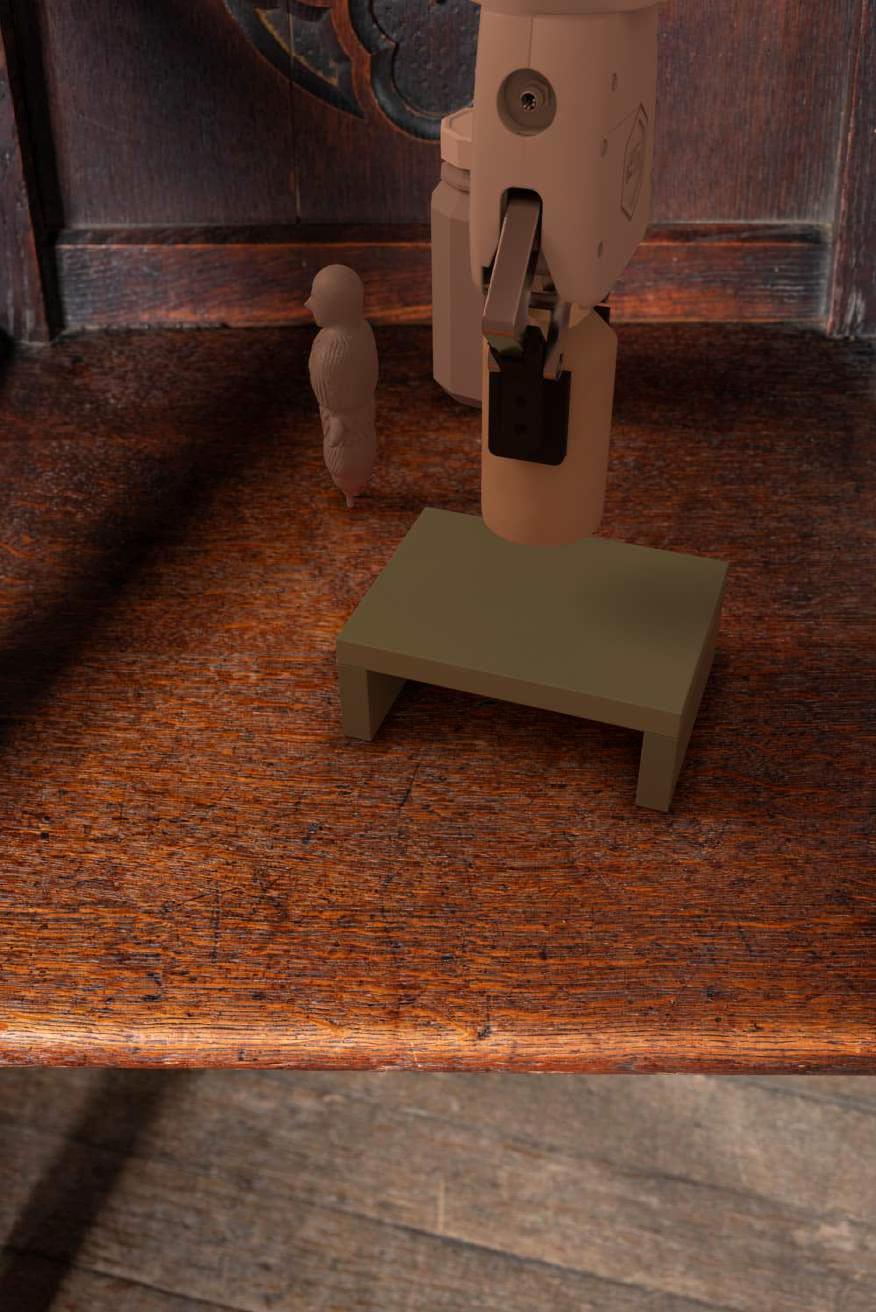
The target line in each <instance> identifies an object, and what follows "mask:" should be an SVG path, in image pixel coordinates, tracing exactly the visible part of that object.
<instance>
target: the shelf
mask: <svg viewBox="0 0 876 1312" xmlns="http://www.w3.org/2000/svg"><path fill="white" fill-rule="evenodd" d="M729 568H730V561H726V560H722V559H721V560H720V559H715V558H711V557H710V558H709V557H704V556H698V555H694V554H693V555H692V554H687V553H682V552H678V551H677V552H676V551H671V550H666V549H661V548H655V547H649V546H643V545H638V544H633V543H627V542H622V541H617V540H612V539H605V538H599V537H595V536H590V535H589V536H588V537H586V538H584V539H582V540H580V541H577V542H574V543H571V544H567V545H562V546H553V547H537V546H528V545H522V544H518V543H515V542H512V541H509V540H506V539H504V538H502V537H500V536H498V535H497V534H495V533H494V532H493V531H492V530H491V529H490V528H489V527H488V526H487V525H486V523H485V521H484V519H483V516H481V515H480V516H478V515H473V514H468V513H463V512H457V511H452V510H447V509H442V508H441V509H440V508H435V507H431V506H430V507H429V506H425V507H424V508H423V509H422V511H421V513H420V514H419V516H418V517H417V519H416V520H415V522H414V523H413V525H412V526H411V527H410V529H409V530H408V532H407V534H406V535H405V536H404V537H403V539H402V541H401V542H400V543H399V545H398V547H397V548H396V550H395V551H394V552H393V554H392V555H391V556H390V558H389V560H388V561H387V563H386V564H385V565H384V567H383V568H382V569H381V571H380V573H379V574H378V576H377V577H376V579H375V580H374V581H373V583H372V584H371V586H370V588H368V591H367V592H366V593H365V594H364V596H363V597H362V599H361V600H360V602H359V604H357V606H356V608H355V609H354V610H353V613H351V615H350V616H349V618H348V620H347V621H346V622H345V624H344V625H343V627H342V628H341V630H340V631H339V633H338V634H337V635H336V637H335V650H336V662H337V664H336V665H337V677H338V678H337V679H338V690H339V702H340V703H339V704H340V715H341V726H342V727H341V728H342V735H343V736H346V737H349V738H353V739H358V740H362V741H367V742H372V740H373V739H374V737H375V735H376V734H377V732H378V731H379V728H380V727H381V725H382V723H383V722H384V719H385V718H386V716H387V715H388V714H389V712H390V710H391V708H392V706H393V705H394V703H395V701H396V700H397V698H398V696H399V695H400V694H401V691H402V689H403V688H404V687H405V684H407V683H406V682H407V681H408V680H410V681H414V682H415V681H416V682H421V683H424V684H429V685H434V686H438V687H443V688H447V689H450V690H455V691H461V692H465V693H470V694H475V695H479V696H483V697H487V698H493V699H496V700H500V701H505V702H509V703H515V704H519V705H523V706H526V707H527V706H528V707H533V708H536V709H542V710H546V711H550V712H555V713H560V714H563V715H569V716H573V717H578V718H582V719H587V720H590V721H596V722H599V723H604V724H609V725H613V726H616V727H617V726H618V727H622V728H627V729H630V730H636V731H640V732H643V738H642V746H641V753H640V754H641V755H640V762H639V771H638V777H637V788H636V795H635V806H638V807H642V808H646V809H651V810H655V811H658V812H663V813H668V812H669V809H670V806H671V803H672V799H673V796H674V793H675V790H676V785H677V782H678V779H679V776H680V772H681V769H682V766H683V764H684V763H683V762H684V759H685V756H686V752H687V750H688V746H689V742H690V739H691V735H692V732H693V729H694V725H695V722H696V720H697V715H698V712H699V710H700V706H701V702H702V700H703V696H704V693H705V690H706V685H707V682H708V679H709V676H710V672H711V670H712V665H713V663H714V659H715V656H716V649H717V643H718V637H719V632H720V625H721V618H722V612H723V607H724V600H725V593H726V587H727V581H728V575H729Z"/></svg>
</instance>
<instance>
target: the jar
mask: <svg viewBox="0 0 876 1312" xmlns="http://www.w3.org/2000/svg"><path fill="white" fill-rule="evenodd" d="M472 122H473V107H467V108H462V109H460V110H457V111H455V112H454V113H451V114H449V115H447V116H445V117H444V118H442V119H441V123H440V158H441V159H442V160H444V162H441V166H440V167H441V168H440V181H439V183H438V184H437V185H436V186H435V188H434V189H433V191H432V193H431V202H430V232H431V233H430V235H431V236H430V237H431V238H430V241H431V244H430V245H431V293H432V294H431V302H432V304H431V305H432V307H431V309H432V311H431V313H432V373H433V377H432V378H433V379H434V380H435V382H436V383H438V385H439V386H440V387H441V388H442V389H443V391H444V392H445V393H447V394H448V395H449V396H450V397H452V398H453V399H454V400H455V401H456V402H457V403H458V404H462V405H466V406H468V407H472V408H476V409H479V410H482V383H483V336H484V335H483V333H482V318H483V313H484V308H485V304H486V299H487V297H486V296H484V295H483V294H482V293H480V291H479V290H478V289H477V288H476V286H475V285H474V283H473V280H472V273H471V261H470V235H469V205H470V167H471V143H472ZM532 290H540V291H543V283H542V276H539V275H535V276H534V280H533V285H532Z"/></svg>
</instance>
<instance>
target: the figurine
mask: <svg viewBox="0 0 876 1312" xmlns="http://www.w3.org/2000/svg"><path fill="white" fill-rule="evenodd" d="M310 295H311V296H309V298H308V299H307V300H306V301H305V302H304V304H303V306H304V307H305V308H306V309H307V310H309V312H311V313H312V315H313V318H314V321H315V324H316V326H318V327H319V328H321V329H320V330H319V332H318V333H317V334H316V336H315V338H314V339H313V340H312V341H313V342H312V345H311V351H310V356H309V359H308V365H307V367H308V369H309V374H310V376H309V378H310V385H311V387H312V390H313V391H314V395H315V397H316V399H317V400H316V401H317V403H318V404H319V407H318V409H319V413H320V420H321V427H322V428H321V429H322V432H323V437H324V438H323V449H322V450H323V451H322V452H323V459H324V462H325V463H324V464H325V466H326V468H327V471H328V472H329V474H330V475H331V478H332V481H333V483H334V485H335V486H336V487H337V488H339V490H340V491H342V493H343V495H345V498H346V507H347V508H349V509H351V508H354V507H355V502H354V497H359V496H360V495H361V494H360V488H362V487H363V486H364V485H365V484H366V483H367V482H368V480H369V478H370V477H371V474H372V470H373V464H374V461H375V459H376V456H377V451H378V448H377V447H378V443H377V442H378V441H377V439H378V438H377V431H376V428H375V425H376V414H377V406H376V400H377V399H376V398H375V390H376V388H377V384H378V381H379V358H378V357H379V356H378V349H377V346H376V338H375V335H374V331H373V328H372V326H371V325H370V323H369V322H368V320H367V319H365V318H363V316H362V315H363V308H364V298H365V292H364V285H363V281H362V279H361V278H360V276H359V275H358V274H357V272H356V271H355V270H353V269H352V268H350V267H349V266H346V265H344V264H340V263H339V264H338V263H336V264H335V263H334V264H329V265H327V266H325V267H323V268H322V269H320V270H319V271H318V272H317V273H316V275H315V276H314V279H313V281H312V285H311V293H310Z"/></svg>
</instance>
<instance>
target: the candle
mask: <svg viewBox="0 0 876 1312" xmlns="http://www.w3.org/2000/svg"><path fill="white" fill-rule="evenodd" d="M555 293H557V292H555ZM528 315H529V318H530V325H532V326H539V327H540V329H541V331H542V333H543V335H544V338H545V340H546V341H547V333H548V325H549V317H550V311H549V310H541V309H534V308H528ZM618 342H619V339H618V336H617V334H616V332H615V331H614V330H613V329H612V328H611V326H610V324H609V325H608V324H607V323H606V322H605V321H604V320H603V319H602V318H601V317H600V316H599V314H598V313H597V312H596V311H595V310H594V309H593V308H591V309H590V310H583V309H580V308H579V306H578V303H572V305H571V312H570V320H569V327H568V335H567V342H566V350H565V357H564V365H563V370H567V371H572V372H571V389H570V406H569V423H568V440H567V454H566V457H565V458H564V460H563V462H562V463H561V464H560V465H558V466H552V465H546V464H540V463H534V462H528V461H522V460H516V459H510V458H504V457H498V456H494V455H493V454H491V453H490V451H489V449H488V409H489V370H488V352H489V345H487V343H488V341H487V339H486V338H485V337H484V336H483V383H482V409H481V479H480V480H481V482H480V483H481V484H480V485H481V486H480V490H481V494H480V495H481V497H480V499H481V514H482V517H483V519H484V521H485V523H486V525H487V526H488V527H489V528H490V529H491V530H492V531H493V532H494V533H495V534H497V535H498V536H500V537H502V538H504V539H506V540H509V541H512V542H515V543H518V544H522V545H528V546H537V547H553V546H562V545H567V544H571V543H574V542H577V541H580V540H582V539H584V538H586V537H588V536H589V537H590V536H591V535H592V534H594V532H596V530H598V528H599V526H600V525H601V522H602V519H603V515H604V509H605V499H606V489H607V476H608V465H609V464H608V463H609V453H610V440H611V427H612V413H613V405H614V392H615V378H616V367H617V355H618V354H617V353H618Z"/></svg>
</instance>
